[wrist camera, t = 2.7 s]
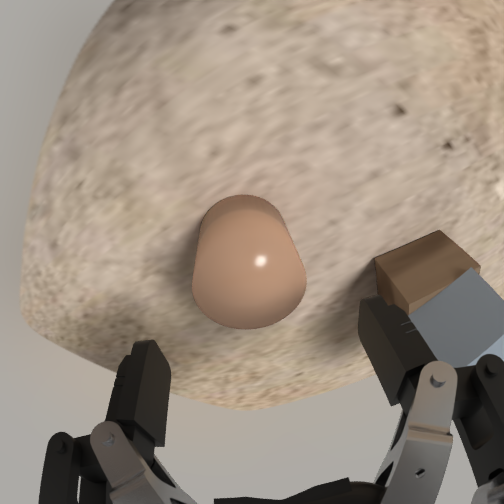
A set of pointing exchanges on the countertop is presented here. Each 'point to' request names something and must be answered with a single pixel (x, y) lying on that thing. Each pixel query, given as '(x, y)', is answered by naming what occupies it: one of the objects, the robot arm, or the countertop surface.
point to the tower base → (420, 270)
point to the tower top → (463, 321)
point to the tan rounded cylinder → (246, 265)
